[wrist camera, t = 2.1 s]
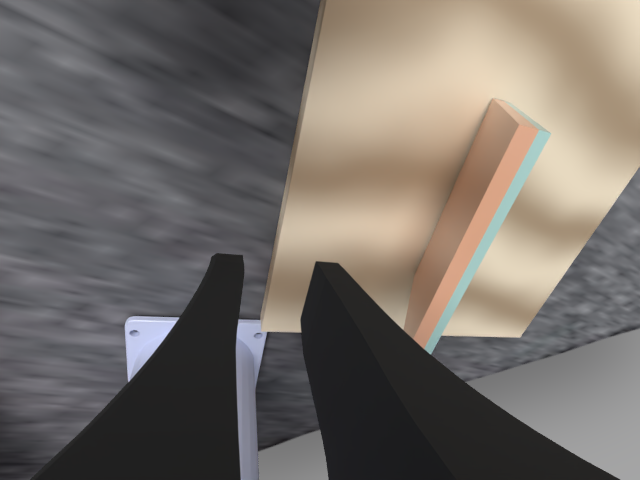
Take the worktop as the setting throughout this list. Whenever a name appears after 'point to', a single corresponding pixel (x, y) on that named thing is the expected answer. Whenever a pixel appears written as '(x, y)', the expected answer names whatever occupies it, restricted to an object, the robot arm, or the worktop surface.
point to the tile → (472, 217)
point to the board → (453, 146)
